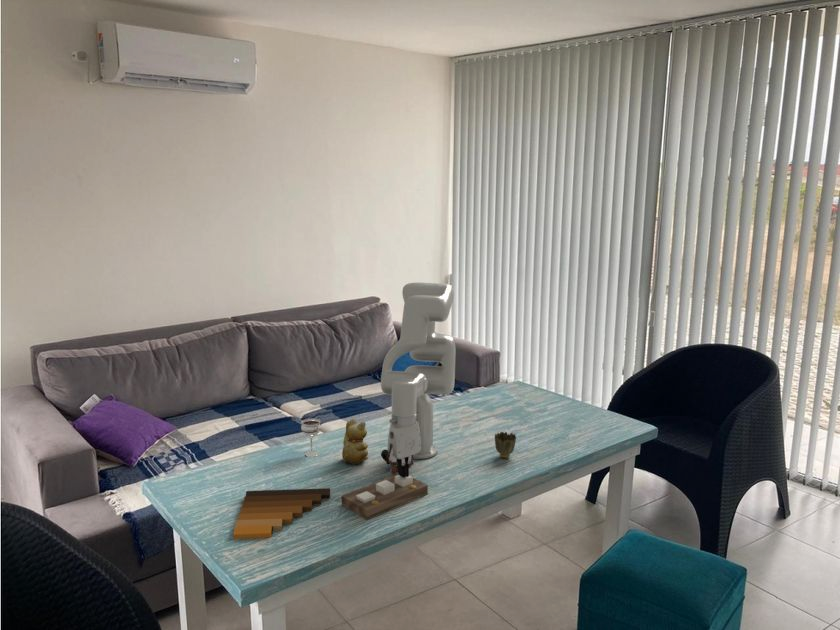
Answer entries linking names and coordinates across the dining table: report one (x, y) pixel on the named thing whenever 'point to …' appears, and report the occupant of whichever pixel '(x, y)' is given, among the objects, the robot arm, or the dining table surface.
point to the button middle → (385, 487)
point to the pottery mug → (394, 467)
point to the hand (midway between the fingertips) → (403, 475)
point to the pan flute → (274, 510)
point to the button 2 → (403, 480)
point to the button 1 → (365, 497)
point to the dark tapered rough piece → (505, 444)
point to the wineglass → (311, 431)
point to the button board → (383, 498)
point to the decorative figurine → (355, 442)
